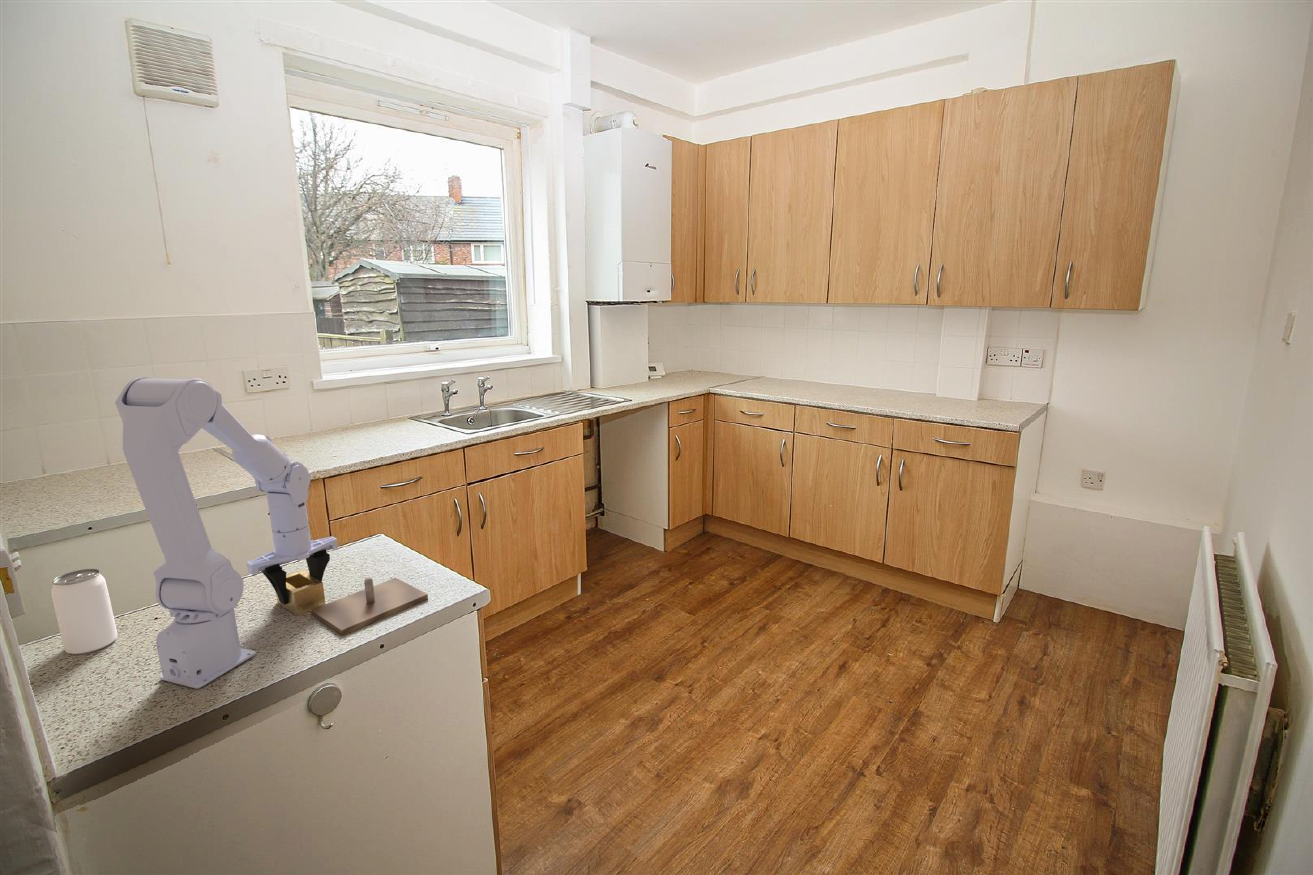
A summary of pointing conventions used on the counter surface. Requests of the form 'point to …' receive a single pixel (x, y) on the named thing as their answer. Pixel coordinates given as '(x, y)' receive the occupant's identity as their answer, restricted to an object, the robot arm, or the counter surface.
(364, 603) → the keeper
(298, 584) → the link
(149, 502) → the robot arm
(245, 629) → the counter surface
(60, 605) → the can
